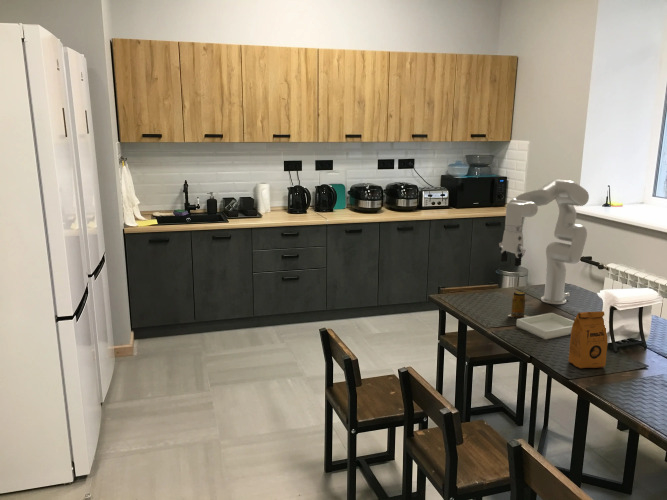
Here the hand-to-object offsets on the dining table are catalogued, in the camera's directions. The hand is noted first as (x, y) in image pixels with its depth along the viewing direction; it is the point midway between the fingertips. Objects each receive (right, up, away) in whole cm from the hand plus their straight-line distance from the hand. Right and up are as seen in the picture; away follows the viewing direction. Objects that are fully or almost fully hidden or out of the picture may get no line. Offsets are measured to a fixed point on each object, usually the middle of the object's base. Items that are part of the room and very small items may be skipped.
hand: (510, 263), depth 273 cm
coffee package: (+13, -39, -51) cm, 66 cm away
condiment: (+5, -26, +4) cm, 27 cm away
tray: (+13, -30, -13) cm, 35 cm away
